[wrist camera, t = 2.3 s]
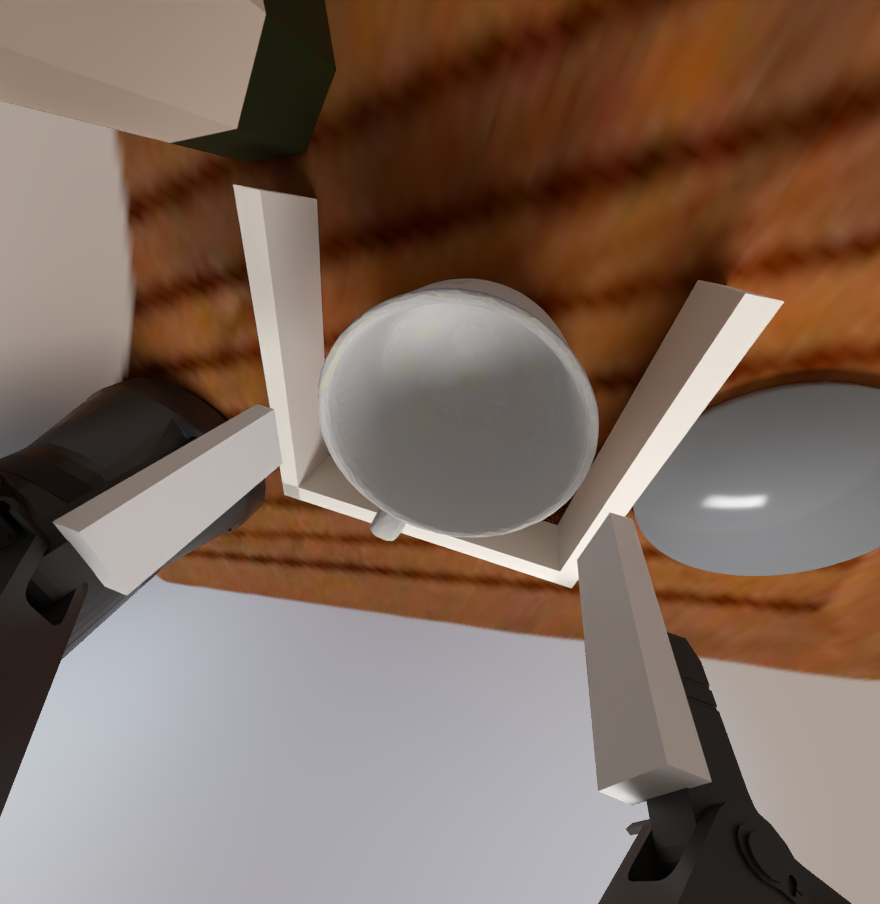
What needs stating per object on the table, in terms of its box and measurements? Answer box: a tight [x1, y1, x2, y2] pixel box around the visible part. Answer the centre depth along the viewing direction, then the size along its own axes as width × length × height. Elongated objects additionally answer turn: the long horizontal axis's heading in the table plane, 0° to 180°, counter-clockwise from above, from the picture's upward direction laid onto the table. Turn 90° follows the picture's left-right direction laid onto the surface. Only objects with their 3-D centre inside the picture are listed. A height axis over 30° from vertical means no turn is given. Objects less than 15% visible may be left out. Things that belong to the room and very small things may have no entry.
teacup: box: [317, 278, 599, 541], centre depth 16 cm, size 14×11×8 cm
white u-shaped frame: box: [233, 184, 784, 588], centre depth 18 cm, size 20×17×4 cm
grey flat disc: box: [632, 381, 880, 576], centre depth 18 cm, size 13×13×1 cm
